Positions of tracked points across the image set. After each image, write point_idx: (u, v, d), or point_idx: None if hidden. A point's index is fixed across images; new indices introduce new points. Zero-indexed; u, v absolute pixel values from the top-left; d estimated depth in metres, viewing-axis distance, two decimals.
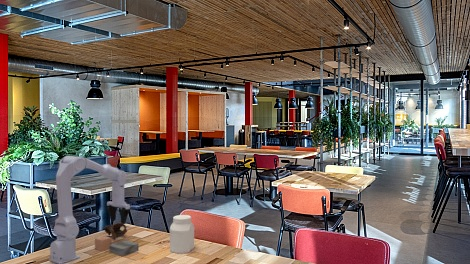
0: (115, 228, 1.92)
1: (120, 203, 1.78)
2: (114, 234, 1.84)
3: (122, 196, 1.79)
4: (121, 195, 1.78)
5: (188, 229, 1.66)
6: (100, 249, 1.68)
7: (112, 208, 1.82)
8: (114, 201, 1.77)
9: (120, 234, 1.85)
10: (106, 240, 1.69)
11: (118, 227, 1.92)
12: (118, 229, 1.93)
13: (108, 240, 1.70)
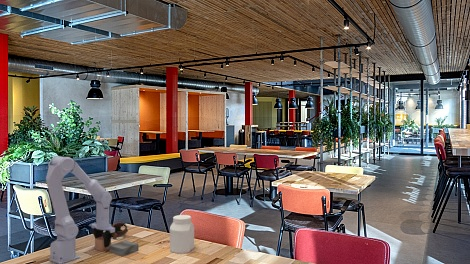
0: (116, 228, 1.92)
1: (105, 226, 1.68)
2: (115, 234, 1.85)
3: (107, 218, 1.69)
4: (106, 217, 1.69)
5: (188, 229, 1.66)
6: (100, 249, 1.68)
7: (98, 231, 1.72)
8: (98, 224, 1.68)
9: (121, 234, 1.85)
10: None
11: (119, 227, 1.93)
12: (119, 229, 1.93)
13: None
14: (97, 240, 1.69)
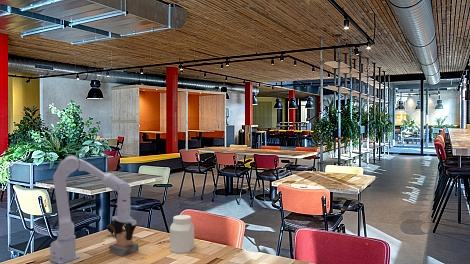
0: None
1: (126, 218, 1.65)
2: None
3: (128, 211, 1.66)
4: (127, 210, 1.65)
5: (188, 229, 1.66)
6: (122, 244, 1.65)
7: (118, 224, 1.69)
8: (119, 216, 1.64)
9: None
10: None
11: None
12: None
13: None
14: (119, 236, 1.66)
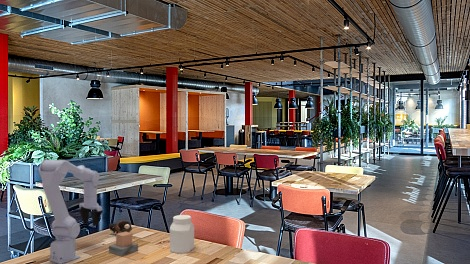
0: (120, 226, 1.96)
1: (92, 205, 1.72)
2: (120, 232, 1.88)
3: (94, 197, 1.73)
4: (93, 196, 1.72)
5: (188, 229, 1.66)
6: (121, 245, 1.64)
7: (84, 210, 1.76)
8: (86, 203, 1.71)
9: None
10: (127, 236, 1.65)
11: (122, 225, 1.96)
12: (122, 227, 1.97)
13: (129, 236, 1.66)
14: (118, 236, 1.66)
